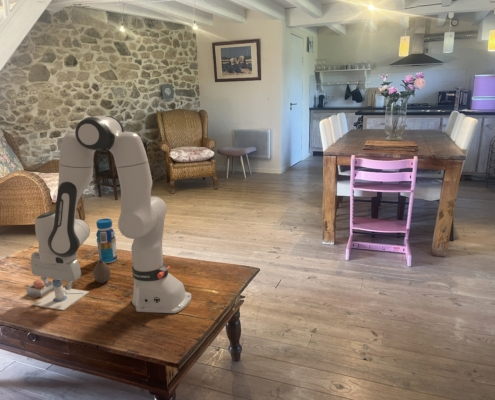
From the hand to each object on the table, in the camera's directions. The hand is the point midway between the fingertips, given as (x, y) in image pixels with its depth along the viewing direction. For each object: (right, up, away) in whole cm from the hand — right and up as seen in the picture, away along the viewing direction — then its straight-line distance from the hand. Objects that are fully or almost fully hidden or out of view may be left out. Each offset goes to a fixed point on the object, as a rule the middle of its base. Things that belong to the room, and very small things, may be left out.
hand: (58, 287), depth 148 cm
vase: (+11, -1, +16) cm, 20 cm away
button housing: (-11, -3, +8) cm, 13 cm away
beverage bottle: (+6, +5, +37) cm, 38 cm away
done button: (-11, -2, +7) cm, 13 cm away
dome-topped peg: (0, -5, +1) cm, 5 cm away
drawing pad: (0, -5, +2) cm, 5 cm away
